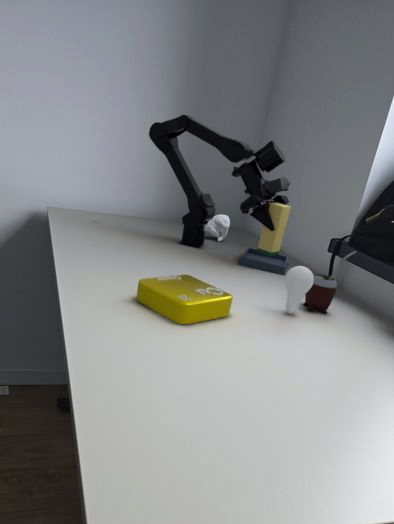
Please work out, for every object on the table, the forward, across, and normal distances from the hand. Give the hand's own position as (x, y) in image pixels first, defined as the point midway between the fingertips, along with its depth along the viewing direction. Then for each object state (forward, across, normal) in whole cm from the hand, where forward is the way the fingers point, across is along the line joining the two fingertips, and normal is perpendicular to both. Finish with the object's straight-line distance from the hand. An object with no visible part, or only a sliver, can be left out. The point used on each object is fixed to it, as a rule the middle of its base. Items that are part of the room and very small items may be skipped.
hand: (277, 230), depth 141 cm
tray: (+6, +3, +10) cm, 12 cm away
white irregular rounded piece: (-13, +12, +30) cm, 35 cm away
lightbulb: (+25, -30, -9) cm, 40 cm away
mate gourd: (+26, -21, -10) cm, 35 cm away
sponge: (+4, 0, +6) cm, 7 cm away
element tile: (+15, -52, +2) cm, 54 cm away
